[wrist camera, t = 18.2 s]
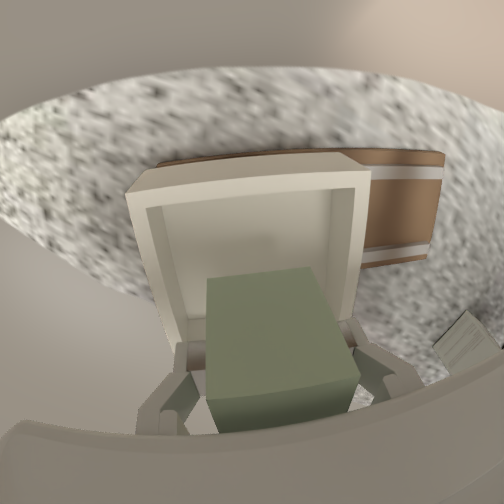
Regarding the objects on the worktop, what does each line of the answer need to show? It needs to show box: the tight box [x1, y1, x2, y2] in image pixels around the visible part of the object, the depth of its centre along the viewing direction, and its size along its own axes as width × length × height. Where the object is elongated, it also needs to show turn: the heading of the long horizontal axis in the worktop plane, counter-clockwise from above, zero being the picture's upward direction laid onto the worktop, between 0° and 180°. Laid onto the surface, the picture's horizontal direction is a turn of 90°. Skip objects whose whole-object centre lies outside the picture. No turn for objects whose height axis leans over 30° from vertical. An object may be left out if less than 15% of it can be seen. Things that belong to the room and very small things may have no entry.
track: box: [156, 148, 445, 269], centre depth 21 cm, size 22×10×1 cm, turn 94°
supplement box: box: [433, 310, 502, 375], centre depth 28 cm, size 7×7×13 cm
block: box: [206, 266, 361, 433], centre depth 11 cm, size 4×4×6 cm
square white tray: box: [125, 152, 371, 357], centre depth 17 cm, size 11×11×6 cm
